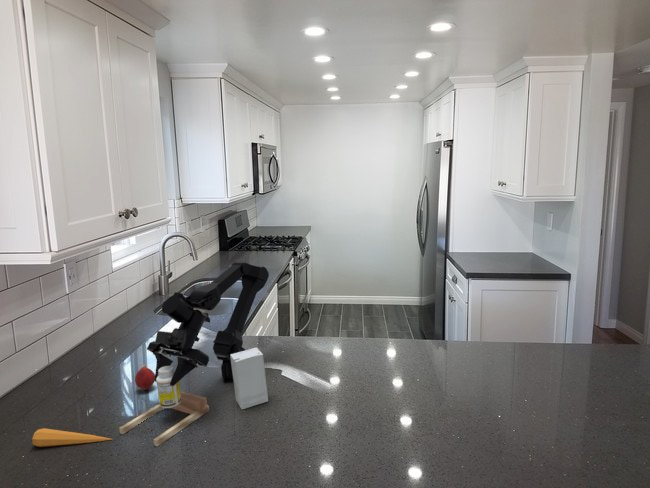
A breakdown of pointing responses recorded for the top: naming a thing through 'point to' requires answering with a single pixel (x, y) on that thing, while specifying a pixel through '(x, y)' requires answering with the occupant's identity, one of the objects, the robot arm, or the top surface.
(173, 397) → the supplement bottle
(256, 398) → the skincare box
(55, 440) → the carrot
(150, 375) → the red round piece
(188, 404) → the rail track
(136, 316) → the top surface
